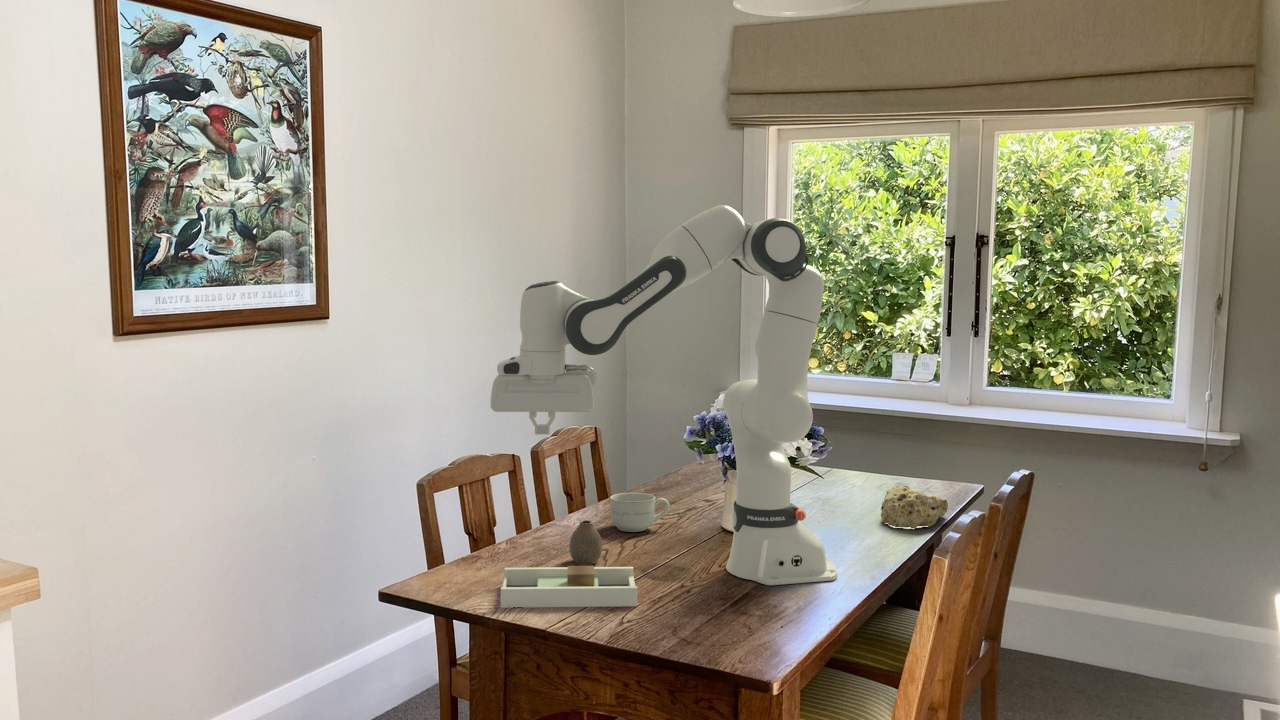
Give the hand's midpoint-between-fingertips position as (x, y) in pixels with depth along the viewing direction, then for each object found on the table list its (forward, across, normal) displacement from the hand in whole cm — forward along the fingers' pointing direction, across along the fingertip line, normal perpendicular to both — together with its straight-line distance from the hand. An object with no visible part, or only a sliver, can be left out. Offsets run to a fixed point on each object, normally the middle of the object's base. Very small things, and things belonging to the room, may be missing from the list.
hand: (542, 434), depth 192 cm
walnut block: (+27, -8, +11) cm, 30 cm away
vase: (+29, -9, -8) cm, 32 cm away
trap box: (+29, -5, +11) cm, 31 cm away
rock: (+30, -91, -38) cm, 103 cm away
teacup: (+29, -22, -32) cm, 49 cm away
